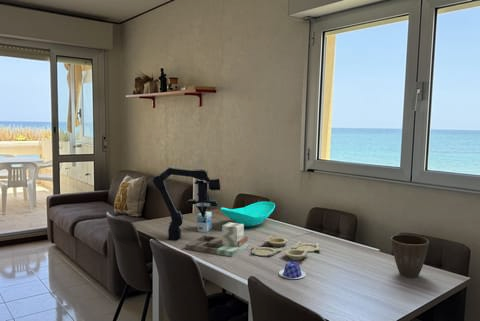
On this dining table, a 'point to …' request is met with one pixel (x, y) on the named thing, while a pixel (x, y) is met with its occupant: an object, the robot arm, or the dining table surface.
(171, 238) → the robot arm
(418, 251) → the plant pot
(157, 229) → the dining table surface
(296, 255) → the tableware set
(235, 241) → the ash block
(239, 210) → the table top decor
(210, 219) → the light bulb box
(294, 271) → the purple patterned hat
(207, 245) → the board
